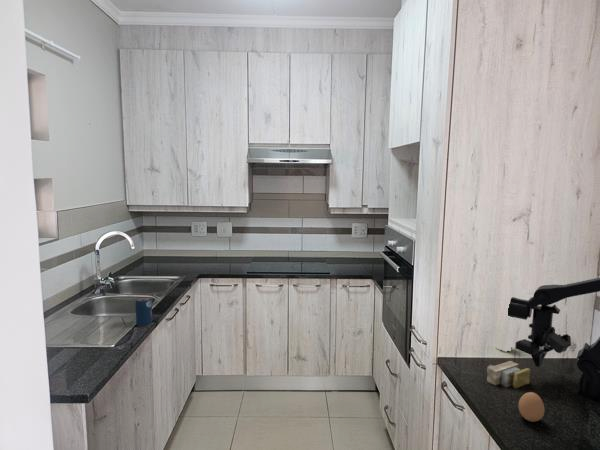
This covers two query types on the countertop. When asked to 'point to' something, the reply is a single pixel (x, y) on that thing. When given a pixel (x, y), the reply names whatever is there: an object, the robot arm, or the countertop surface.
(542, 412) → the egg
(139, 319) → the soda can
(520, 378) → the block
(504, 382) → the grey block with shaft
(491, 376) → the block
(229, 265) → the countertop surface
